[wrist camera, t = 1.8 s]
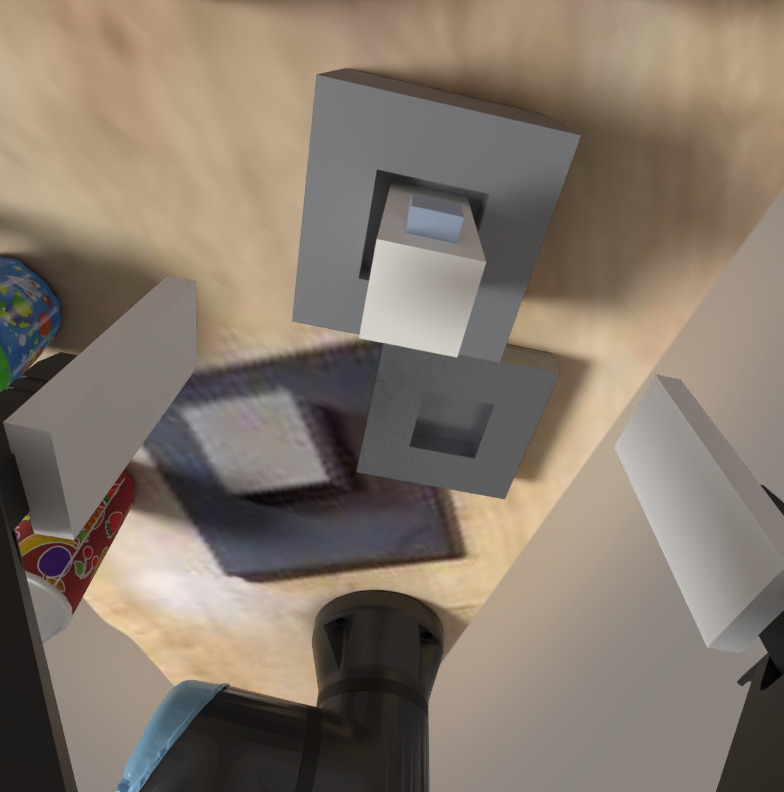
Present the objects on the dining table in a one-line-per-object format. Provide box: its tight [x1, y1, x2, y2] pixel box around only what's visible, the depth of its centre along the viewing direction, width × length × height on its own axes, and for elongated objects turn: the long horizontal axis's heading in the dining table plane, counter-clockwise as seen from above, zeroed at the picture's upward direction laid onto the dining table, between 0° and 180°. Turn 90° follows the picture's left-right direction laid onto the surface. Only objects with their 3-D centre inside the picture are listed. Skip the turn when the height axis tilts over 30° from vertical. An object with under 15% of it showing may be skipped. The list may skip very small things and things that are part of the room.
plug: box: [359, 181, 486, 357], centre depth 24 cm, size 5×4×10 cm
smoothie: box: [15, 470, 134, 644], centre depth 42 cm, size 8×8×20 cm
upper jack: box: [292, 68, 581, 363], centre depth 31 cm, size 12×12×10 cm
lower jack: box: [357, 343, 560, 499], centre depth 43 cm, size 13×13×3 cm
